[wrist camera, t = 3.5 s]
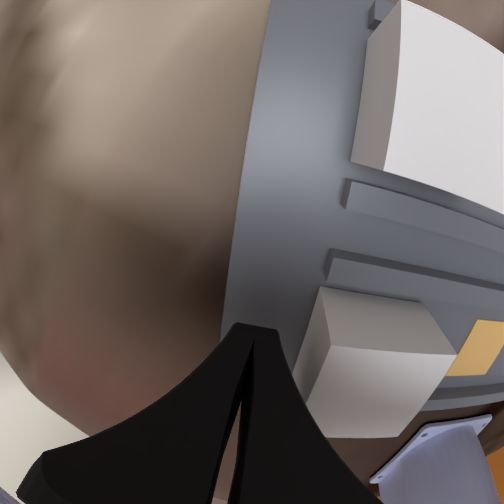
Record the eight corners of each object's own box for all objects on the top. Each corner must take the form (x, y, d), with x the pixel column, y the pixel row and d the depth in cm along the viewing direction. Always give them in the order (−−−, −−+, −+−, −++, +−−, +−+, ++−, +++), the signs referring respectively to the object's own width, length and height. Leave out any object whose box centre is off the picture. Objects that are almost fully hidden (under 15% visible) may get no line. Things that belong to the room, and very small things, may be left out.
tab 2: (382, 381, 10) (397, 436, 8) (292, 373, 11) (290, 434, 8) (422, 303, 9) (457, 354, 6) (320, 285, 9) (331, 344, 6)
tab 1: (458, 195, 7) (514, 219, 5) (350, 161, 8) (383, 170, 5) (473, 85, 6) (529, 74, 3) (367, 39, 6) (401, -2, 3)
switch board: (506, 377, 12) (522, 402, 10) (223, 360, 13) (210, 402, 11) (584, 159, 6) (612, 168, 4) (278, 1, 7) (274, -37, 5)
